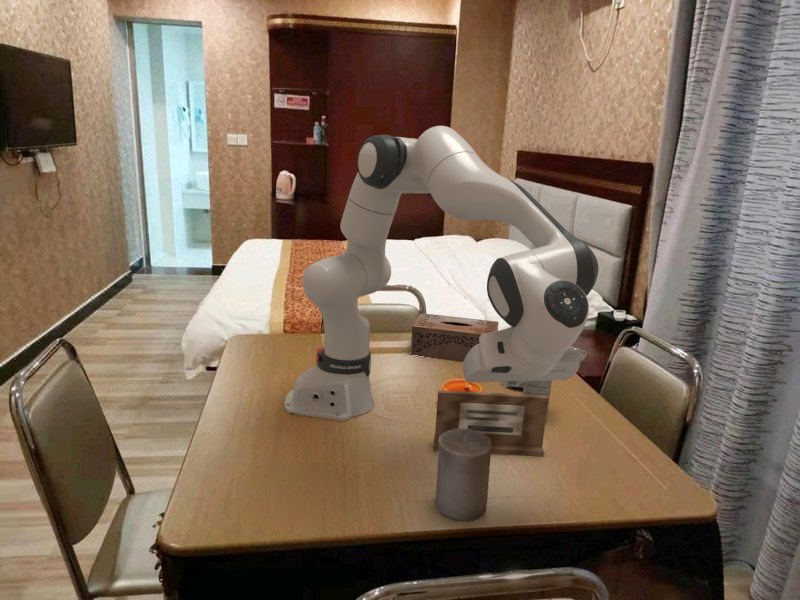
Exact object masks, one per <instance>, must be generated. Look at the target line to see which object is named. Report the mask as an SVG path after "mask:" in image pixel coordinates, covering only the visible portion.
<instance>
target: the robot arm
mask: <svg viewBox="0 0 800 600" xmlns="http://www.w3.org/2000/svg"><path fill="white" fill-rule="evenodd" d="M356 169H357V173H356V176H355V178H354V180H353V183H352V185H351V187H350V191H349V193H348V194H349V195H348V197H347V201H346V204H345V208H344V210H343V214H342V217H341V221H340V231H341V233H342V234H343V236H344V237H345V239H346V241H347V245H346V249H345V251H344V252H343V253H342V254H339V255H335V256H333V255H332V256H329V257H324V258H322V259H320V260H318V261H316V262H313V263H312V264H310V265H308V266H307V267H306V268H305V270H304V272H303V275H302V280H301V281H302V288H303V292H304V294H305V296H306V297H307V298H308V300H309V301H310V302H311V303H313V304H314V305H316V307H317V308H318V310H319V311H320V314H321V316H322V320H323V327H324V331H323V332H324V346H318V348H317V349H316V355H315V356H316V358H315V359H316V360H315V361H316V362H315V363H316V364H314V365H313V366H311V367H309V368H308V369H307V370H305V371H304V372H302V373H300V375H299V376H298V378H297V379H296V382H295V384H294V387H293V389H291V390H290V391H289V392H288V394H287V395H286V397H285V399H284V403H283V408H285V409H284V411H285V410H286V411H287V412H288V413H287V412H286V411H285V412H286V413H287V414H290V413H294V414H293V415H296V414H300V415H299V416H303V415H306V416H305V417H310V416H315V417H314V418H317V417H320V418H319V419H323V418H328V419H327V420H330V419H336V420H335V421H337V420H341V421H340V422H345V421H344V420H346V421H348V420H350V419H351V418H353V417H356V416H360V414H361V415H364V414H365V413H368V412H370V411H371V410H372V409H373V408H374V406H375V405H374V404H375V402H374V399H373V395H372V392H371V391H372V390H371V382H370V374H371V371H372V370H371V369H372V357H371V355H372V353H371V351H370V337H371V336H370V335H371V334H370V333H371V324H370V322H369V320H368V319H367V317H365V316H364V315H363V314H361V313H360V311H359V306H358V299H359V298H361V297H365V296H368V295H371V294H375V293H376V292H377V291H379V290H381V289H382V288H383V287H385V286H386V285H387V284H388V283H389V282H390V280H391V277H392V268H391V267H392V266H391V264H390V261H389V259H388V258H387V256H386V244H387V239H388V235H389V232H390V228H391V225H392V223H393V220H394V217H395V214H396V211H397V208H398V205H399V202H400V199H401V195H402V194H425V195H431V197H432V199H433V201H434V202H435V204H437V205H438V207H439V208H440V209H441V210H442V211H443V212H444V213H445V214H447V215H448V216H450V217H452V218H456V219H458V220H463V221H464V220H465V221H492V222H499V223H500V222H501V223H505V224H508V225H511V226H513V227H515V228H516V229H518V230H519V232H521V234H523V235H524V236H523V237H525V238H526V239H527V240H528V241H529V242H530V243H531V244H532V245H533V246H534V247H535V248H531V249H529V250H524V251H523V250H522V251H519V252H516V253H511V254H508V255H504V256H502V257H498V258H496V259H495V261H494V262H493V263H492V265H491V267H490V269H489V273H488V276H487V281H486V292H487V293H486V294H487V296H488V300H489V303H490V304H491V306H492V308H493V310H494V311H495V312H496V314H497V315H498V316H499V317H500V318H501V319H502V320H503V321H504V322H505V323H506V324H508V326H509V327H507V328H504V329H501V330H498V331H495V332H490V333H484V334H482V335H481V336H480V337H479V344H477V345H475V346H474V347H473V348H472V349H471V350H470V351H469V352H468V354H467V355H466V357H465V359H464V361H463V362H462V372H463V378H464V380H465V381H466V382H468V383H492V382H493V383H494V382H495V383H496V382H501V387H502V388H510V387H511V388H512V387H515V388H517V387H518V385H519V384H521V383H524V382H526V381H550V380H552V381H568V380H571V379H573V378H574V377H575V376H576V374H577V372H578V371H579V368H580V362H582V361H583V360H584V359H585V358H587V351H586V350H584V349H582V348H581V347H574V346H573V345H574V343H575V342H576V341H577V339H578V338H579V336H580V335H581V333H582V332H583V331H584V328H585V326H586V324H587V321H588V318H589V312H590V304H589V300H588V297H587V296H588V295H589V294H590V292H591V291H592V290H593V288H594V286H595V284H596V282H597V279H598V275H599V270H600V269H599V263H598V259H597V257H596V255H595V253H594V251H593V250H592V249H591V248H590V247H589V246H588V245H587V244H586V243H585V242H584V241H582V240H581V239H579V238H578V237H576V236H575V235H574V234H572V233H570V232H569V231H568V230H567V229H566V228H565V227H564V226H563V225H562V224H561V223H560V222H559V221H557V219H555V217H554V216H552V214H550V213H549V211H548V210H546V209H545V207H543V205H541V203H540V202H539V201H537V199H535V198H534V197H533V196H532V194H530V193H529V192H528V191H527V189H525V188H524V187H522V186H521V185H520V184H519V183H517V182H515V181H513V180H510V179H508V178H506V177H504V176H502V175H501V174H499V173H497V172H496V171H494V170H493V169H491V168H490V167H489V166H488V165H487V164H486V163H484V161H483V160H482V159H481V158H480V156H479V155H478V153H476V151H475V150H474V148H473V147H472V146H471V145H470V143H468V142H467V140H465V139H464V138H463V137H462V136H461V134H459V133H458V132H457V131H455V130H454V129H453V128H451V127H449V126H446V125H436V126H432V127H429V128H428V129H426V130H425V131H423V133H421V134H420V136H418V138H416V137H415V138H414V137H411V138H409V137H401V136H393V135H389V134H378V135H372V136H370V137H368V138H367V139H365V140H364V142H363V143H362V144H361V146H360V148H359V151H358V153H357V157H356ZM307 415H308V416H307ZM321 417H322V418H321ZM349 418H350V419H349ZM347 419H348V420H347Z"/></svg>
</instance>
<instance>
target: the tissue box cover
mask: <svg viewBox="0 0 800 600" xmlns="http://www.w3.org/2000/svg"><path fill="white" fill-rule="evenodd" d="M499 323H500V322H499V321H496V320H486V319H478V318H468V317H458V316H449V315H443V314H442V315H440V314H434V313H431V314H430V313H424V312H421V313H419V315H418V317H416V320H415V321H414V323H413V324H412V326H411V327H412V328H411V342H410V343H411V345H410V346H411V347H410V356H411V355H418V356H424V357H423V358H426V357H430V358H429V359H434V358H437V360H442V359H443V360H444V361H450V362H451V361H453V362H460V363H463V361H464V359H465V357H466V355H467V354H468V352H469V351H470V350H471V349H472V348H473V347H474V346H475V345H477V344H479V337H480V336H481V335H482V334H484V333H490V332H495V331H499ZM418 356H417V357H418ZM443 360H442V361H443Z"/></svg>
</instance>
